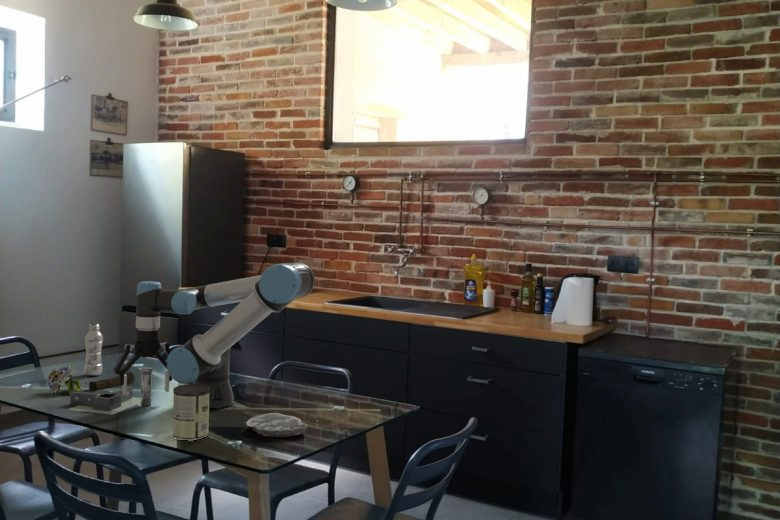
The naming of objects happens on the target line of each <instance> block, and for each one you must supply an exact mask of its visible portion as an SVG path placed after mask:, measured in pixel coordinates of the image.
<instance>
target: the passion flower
mask: <svg viewBox="0 0 780 520" xmlns="http://www.w3.org/2000/svg"><path fill="white" fill-rule="evenodd" d="M71 368H72V365H71V364H68V365H67V367H65V366H64V367H63V368H62V367H61V368H60V369H59V370H58V369H56V368H54V369H52V371H50V372H49V374H48V376H47V377H48V379H49V380H47V382H46V383H47V384H48V386H49V389H50V391H49V392H51V393H50V394H51V395H55V394H57V393H58V392H59V391H60V389H61V387H64V386H66V387H67V390H68V394H69V396H70V392H75V391H76V392H81V390H82V383H81V382H80V381H81V380H84V384H87V383H88V381H87V377H86V376H85V377H82V378H80V379H73V375H74V374H75V370H72V371H71Z"/></svg>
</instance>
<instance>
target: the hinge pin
mask: <svg viewBox="0 0 780 520" xmlns="http://www.w3.org/2000/svg"><path fill="white" fill-rule="evenodd" d="M153 372H154V368H153V367H145V366H144V367H141V368H140V373H141V381H140V382H141V383H140V386H141V388H140V398H141V403H140V407H141V408H145V409H146V408H151V407H152V384H153V383H152V382H153V381H152V380H153Z"/></svg>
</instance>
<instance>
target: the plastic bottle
mask: <svg viewBox="0 0 780 520" xmlns="http://www.w3.org/2000/svg"><path fill="white" fill-rule="evenodd" d="M100 329H101V328H100V323H89V324H88V330H89V331H88V332H87V333H86V335H85V337H84V343H85V353H86V354H85V361H84V362H85V363H84V366H83V372H84V373H83V374H84V375H86V376H91V377H95V376H100V375H102V373H103V363H102V349H103V348H102V347H103V342H104V336H103V334H102V332H100Z"/></svg>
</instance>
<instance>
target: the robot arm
mask: <svg viewBox="0 0 780 520" xmlns="http://www.w3.org/2000/svg"><path fill="white" fill-rule="evenodd" d="M315 280H316V277H315V274H314V272H313V270H312V269H311V268H310V266H309V265H307V264H306V263H303V262H297V261H296V262H295V261H294V262H287V263H285V262H282V263H275V264H274V265H271V266H269V267H268V268H266V269H265V270H264V271H263V273H261V274H259V275H253V276H250V277H244V278H237V279H231V280H227V281H222V282H221V281H220V282H217V283H211V284H205V285H199V286H193V287H188V288H181V289H167V288H166V289H165V288H163V287H162V283H161V282H160V281H153V280H152V281H151V280H148V281H147V280H146V281H140V282H139V283H137V287H136V295H135V296H136V298H135V299H136V313H135V328H136V329H135V338H134V344H128V343H125V344H124V347H123V348H124V349H123V352H122V353H121V355H120V357H119V359H118V361H117V363H116V365H115V366H114V368H113V370H112V371H113V373H114V374H116V375H118V376H119V384H120V385H119V386H121V389H122V394H123V395H124V396H126V391H127V387H128V385H127V375H126V374H125V373H127V372H129V370H130V369H131V367H132V366H133V365H134V364H135V363H136V362H137V360H139V359H140V358H143V359H144V358H145V359H146V358H153V357H154V356H155V358H156V359H157V360H158V361H159V362H160V363H161V364H162V365H163V367H164V368H165V369H166V370H165V371H164V391H165V392H166V393H169V392H170V382H172V381H174V382H176V383H178V384H181V385H188V384H199V385H206V386H208V387H210V394H209V408H216V409H221V408H220V407H224V408H227V407H226V406H228V407H230V405H231V406H232V405H234V403H235V401H234V400H235V395H234V392H233V389H232V386H231V383H230V368H231V367H230V365H231V363H230V362H231V349H232V348H231V347H232V346H234V344H236V343H237V342H238V341H240V340H241V339H242V338H243V337H244V336H246V335H247V334H248V333H249V332H250V331H252V330H253V329H254V328H255V327H256V326H257V325H258V324H260V323H261V322H262V321H263V320H265V319H266V318H267V317H268V316H270V315H271V313H280V312H281V311H282V310H283V309H285V308H286V307H287V306H289V305H290V304H291V303H292V302H293V301H296V300H298V299H302V298H305V297H307V296H308V295H309V294H310V293H311V292H312V291H313V289H314V287H315V283H316V281H315ZM235 303H238V304H237V305H236V306H235V307H234V308H233V309H232V310H230V311H229V312H228V313H227V314H226V315H224V317H222V318H221V319H220V320H219V321H218V322H217V323H215V324H214V325H213V326H212V327H210V328H209V329H208V330H207V331H206V332H204V334H196V335H194V336H193V337H191V339H189V340H188V341H187V342H186V343H184V344H183V345H181V346H178V347H175V348H174V349H172V350H170V343H169V342H167V341H164V342H160V335H161V333H160V332H161V331H160V328H161V313H167V314H169V313H170V314H177V315H190V314H192V313H193V312H194V311H196V310H200V309H202V310H203V309H206V308H212V307H218V306H223V305H224V306H225V305H228V304H235ZM133 349H134V351H135V352H134V353H133V354H132V356H131V357H130V358H129V359H128V361H127V362H126V360H127V358H128V356H129V355H130V352H132V351H133ZM160 349H162V350H164V352H165V354H166V356H167V358H166V359H164V357H163V356H162V355H161V353H159V352H158V351H159V350H160ZM125 362H126V363H125ZM124 363H125V364H124ZM123 365H124V366H123Z"/></svg>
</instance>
